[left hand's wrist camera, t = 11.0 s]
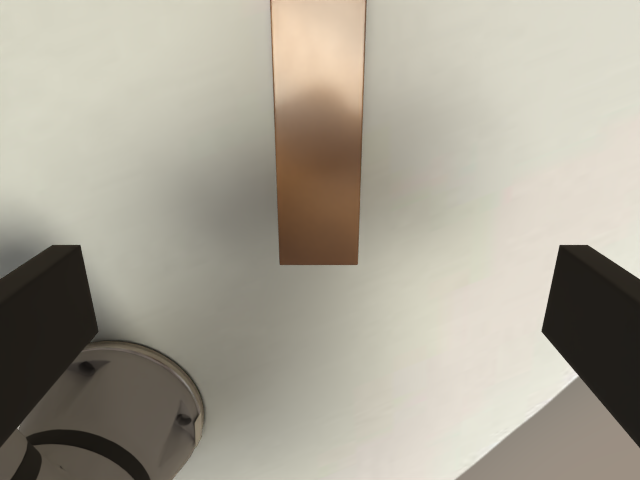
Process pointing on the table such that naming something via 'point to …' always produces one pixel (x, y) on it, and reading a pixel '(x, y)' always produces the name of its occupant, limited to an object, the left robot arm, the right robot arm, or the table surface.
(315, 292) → the table surface
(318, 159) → the beam
